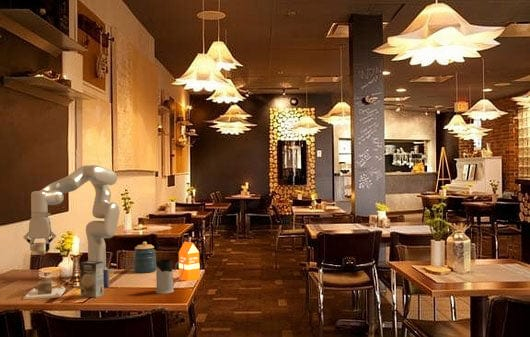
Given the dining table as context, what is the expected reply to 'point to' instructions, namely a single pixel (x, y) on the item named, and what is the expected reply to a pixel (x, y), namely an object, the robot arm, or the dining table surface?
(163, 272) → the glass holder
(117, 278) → the dining table surface
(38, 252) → the ash brick
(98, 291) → the coffee box
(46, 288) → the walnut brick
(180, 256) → the orange juice
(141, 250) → the canister
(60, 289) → the baseplate
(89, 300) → the dining table surface
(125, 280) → the dining table surface
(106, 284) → the flask
